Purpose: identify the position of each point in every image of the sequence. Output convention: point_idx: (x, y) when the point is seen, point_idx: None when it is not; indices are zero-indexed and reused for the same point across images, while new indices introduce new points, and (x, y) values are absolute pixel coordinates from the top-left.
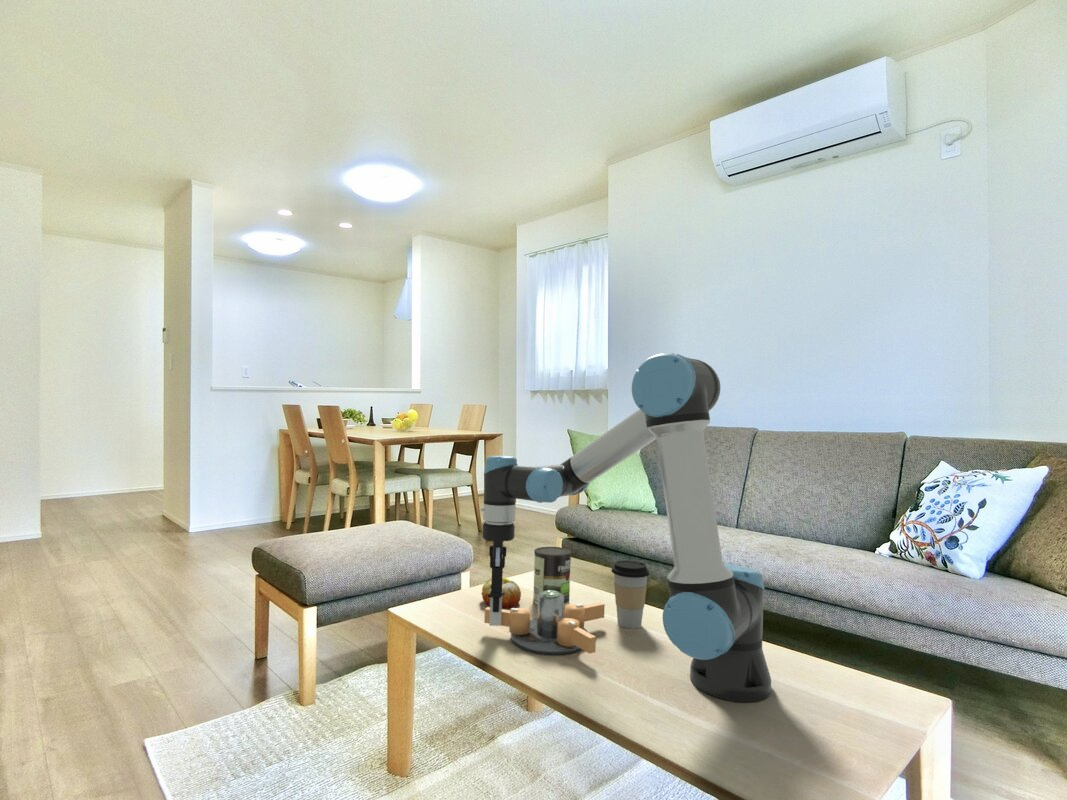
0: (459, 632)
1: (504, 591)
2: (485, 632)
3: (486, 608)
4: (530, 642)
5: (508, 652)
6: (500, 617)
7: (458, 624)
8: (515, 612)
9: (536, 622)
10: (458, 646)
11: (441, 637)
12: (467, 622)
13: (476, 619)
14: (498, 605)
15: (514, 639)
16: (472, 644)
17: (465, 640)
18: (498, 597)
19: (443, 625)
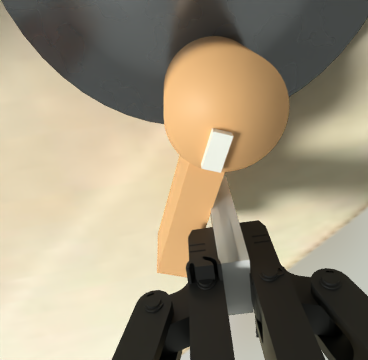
0: (182, 280)
1: (187, 268)
2: None
3: (178, 273)
4: (331, 19)
5: (342, 105)
6: (231, 197)
7: (117, 295)
8: (243, 140)
9: (67, 11)
10: (290, 260)
11: None
12: (91, 277)
13: (53, 259)
14: (270, 244)
15: None
16: (274, 229)
17: None
18: (295, 278)
19: None
